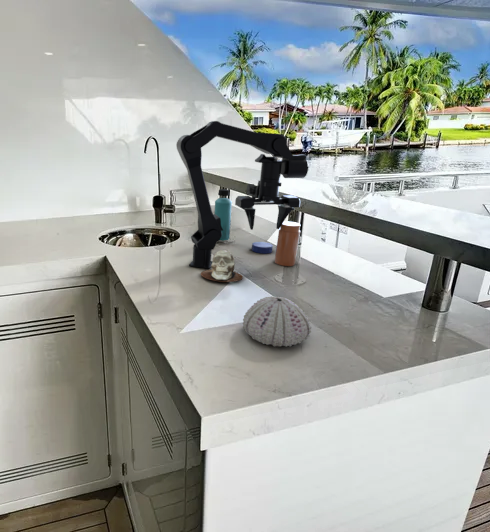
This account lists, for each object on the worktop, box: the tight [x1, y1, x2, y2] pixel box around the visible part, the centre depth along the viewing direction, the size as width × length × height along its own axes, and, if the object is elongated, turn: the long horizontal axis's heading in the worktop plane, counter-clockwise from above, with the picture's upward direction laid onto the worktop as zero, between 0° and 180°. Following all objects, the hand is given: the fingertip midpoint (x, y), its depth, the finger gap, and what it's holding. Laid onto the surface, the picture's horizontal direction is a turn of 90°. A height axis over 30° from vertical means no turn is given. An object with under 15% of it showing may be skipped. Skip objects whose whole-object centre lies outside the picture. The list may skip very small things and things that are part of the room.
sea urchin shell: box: [242, 296, 312, 348], centre depth 77 cm, size 13×14×8 cm
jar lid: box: [251, 241, 274, 255], centre depth 135 cm, size 7×7×2 cm
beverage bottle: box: [213, 188, 233, 241], centre depth 142 cm, size 6×7×20 cm
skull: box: [200, 249, 244, 283], centre depth 109 cm, size 12×10×10 cm
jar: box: [274, 221, 301, 267], centre depth 121 cm, size 6×6×13 cm
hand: (264, 229), depth 118 cm, fingers open, 8 cm apart
